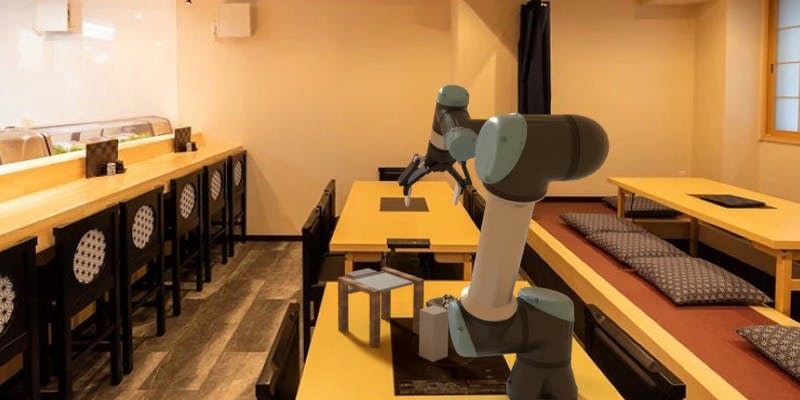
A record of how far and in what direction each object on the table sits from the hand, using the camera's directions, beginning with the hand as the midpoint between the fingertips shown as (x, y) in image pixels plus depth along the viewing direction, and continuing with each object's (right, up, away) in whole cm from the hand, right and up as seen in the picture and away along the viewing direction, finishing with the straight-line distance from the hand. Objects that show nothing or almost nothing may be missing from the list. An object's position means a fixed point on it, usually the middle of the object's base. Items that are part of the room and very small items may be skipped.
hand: (430, 202), depth 174 cm
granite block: (0, -38, -18) cm, 42 cm away
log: (+5, -33, +19) cm, 38 cm away
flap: (-15, -22, -2) cm, 27 cm away
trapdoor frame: (-14, -35, -2) cm, 38 cm away
